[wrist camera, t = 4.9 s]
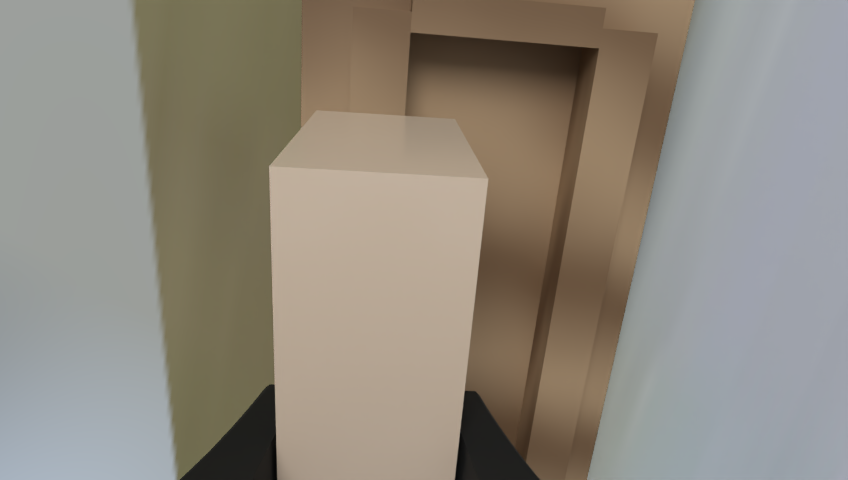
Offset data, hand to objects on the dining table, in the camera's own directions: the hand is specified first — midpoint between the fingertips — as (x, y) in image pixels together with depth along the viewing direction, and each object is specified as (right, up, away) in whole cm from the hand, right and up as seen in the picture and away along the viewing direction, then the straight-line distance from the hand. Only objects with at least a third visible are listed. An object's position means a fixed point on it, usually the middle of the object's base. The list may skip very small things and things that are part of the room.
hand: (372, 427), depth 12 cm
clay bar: (0, +1, +3) cm, 3 cm away
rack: (+2, +3, +8) cm, 9 cm away
